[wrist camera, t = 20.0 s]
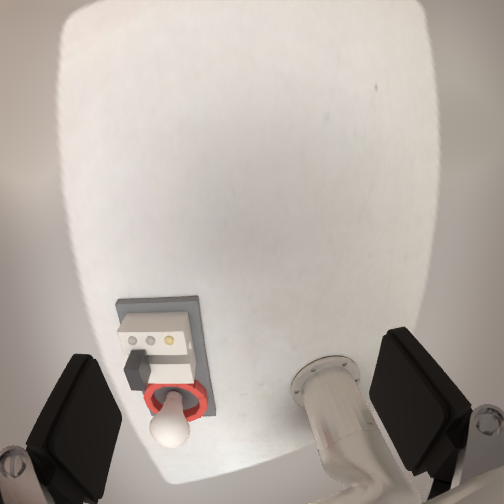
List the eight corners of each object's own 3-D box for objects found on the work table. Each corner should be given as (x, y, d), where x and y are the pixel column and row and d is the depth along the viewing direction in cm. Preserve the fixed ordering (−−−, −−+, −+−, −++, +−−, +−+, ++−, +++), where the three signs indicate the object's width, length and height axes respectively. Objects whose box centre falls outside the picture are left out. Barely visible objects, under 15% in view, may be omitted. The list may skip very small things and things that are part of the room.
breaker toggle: (155, 356, 40) (145, 390, 33) (142, 355, 40) (131, 390, 33) (150, 335, 39) (138, 369, 32) (137, 336, 39) (123, 369, 32)
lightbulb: (182, 377, 44) (175, 431, 33) (199, 400, 46) (196, 452, 36) (150, 384, 44) (138, 436, 34) (169, 406, 46) (161, 456, 36)
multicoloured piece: (215, 410, 49) (215, 438, 42) (152, 410, 48) (147, 437, 42) (197, 296, 41) (193, 322, 35) (118, 299, 40) (102, 323, 34)
